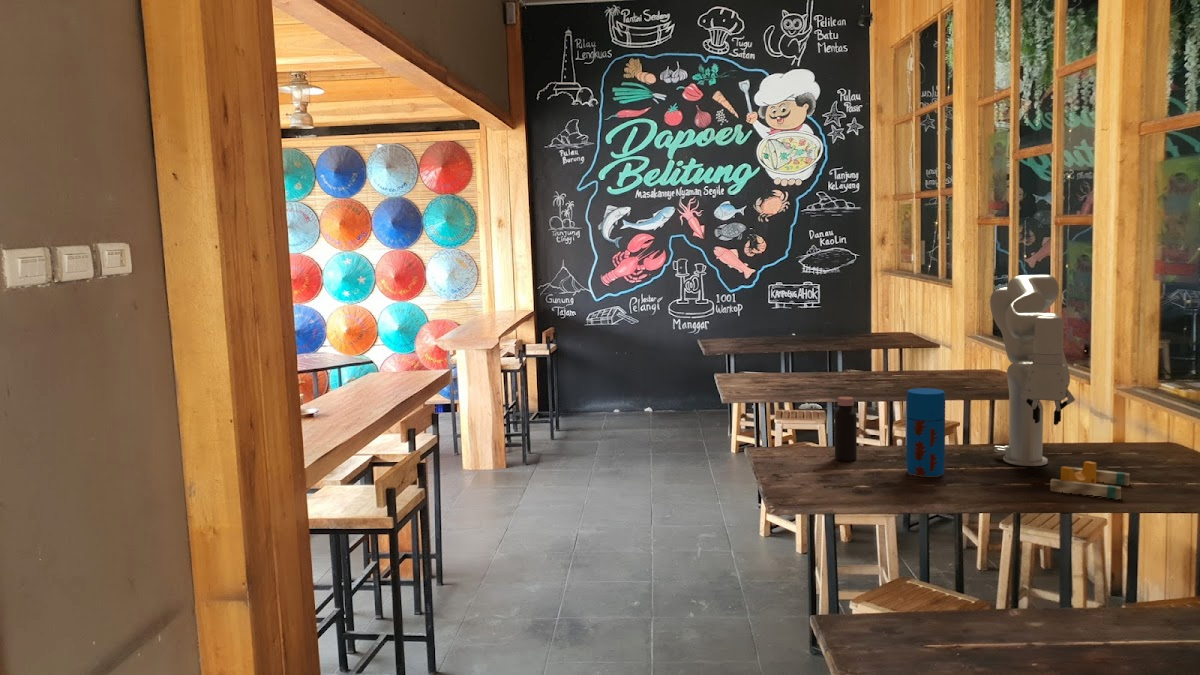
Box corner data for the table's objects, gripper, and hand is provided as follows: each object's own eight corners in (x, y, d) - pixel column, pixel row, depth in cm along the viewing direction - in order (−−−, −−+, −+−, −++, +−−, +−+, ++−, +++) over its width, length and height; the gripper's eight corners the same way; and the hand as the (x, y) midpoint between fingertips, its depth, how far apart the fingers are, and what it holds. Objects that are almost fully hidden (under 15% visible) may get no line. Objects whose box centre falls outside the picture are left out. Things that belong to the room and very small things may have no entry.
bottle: (839, 455, 308) (839, 395, 306) (859, 458, 304) (859, 397, 302) (831, 460, 303) (831, 398, 300) (852, 462, 299) (851, 400, 296)
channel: (1050, 491, 261) (1050, 480, 260) (1063, 476, 275) (1063, 465, 275) (1119, 499, 251) (1120, 488, 250) (1129, 483, 265) (1129, 473, 265)
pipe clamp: (1081, 482, 269) (1082, 459, 269) (1096, 485, 266) (1096, 462, 265) (1054, 488, 264) (1055, 466, 263) (1068, 492, 260) (1069, 469, 259)
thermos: (917, 466, 291) (917, 387, 288) (950, 472, 283) (951, 390, 281) (900, 474, 283) (900, 392, 281) (934, 479, 276) (934, 395, 273)
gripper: (1013, 359, 268) (1011, 422, 270) (1078, 363, 258) (1076, 428, 260) (1019, 356, 274) (1018, 418, 276) (1083, 359, 264) (1081, 423, 266)
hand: (1046, 422), depth 268 cm, fingers open, 4 cm apart
